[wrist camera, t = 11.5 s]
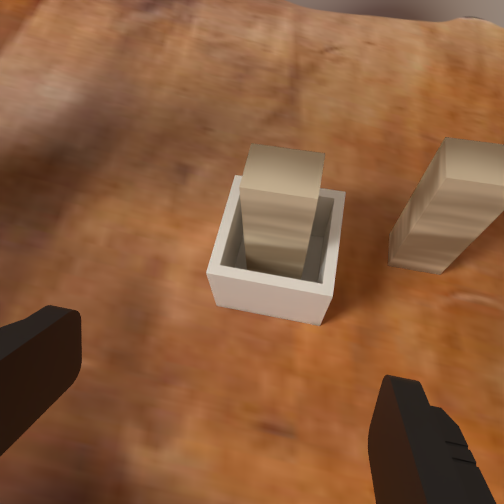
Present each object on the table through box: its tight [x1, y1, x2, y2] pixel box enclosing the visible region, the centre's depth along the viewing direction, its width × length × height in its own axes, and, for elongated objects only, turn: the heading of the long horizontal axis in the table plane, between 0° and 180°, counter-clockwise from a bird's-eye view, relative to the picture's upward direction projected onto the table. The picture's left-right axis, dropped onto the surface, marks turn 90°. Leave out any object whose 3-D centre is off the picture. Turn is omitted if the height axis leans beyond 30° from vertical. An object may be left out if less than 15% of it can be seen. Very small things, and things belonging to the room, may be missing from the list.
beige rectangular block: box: [388, 137, 504, 275], centre depth 26 cm, size 3×4×11 cm
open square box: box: [206, 175, 346, 326], centre depth 28 cm, size 8×8×6 cm
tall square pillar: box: [239, 143, 325, 280], centre depth 24 cm, size 3×4×11 cm
